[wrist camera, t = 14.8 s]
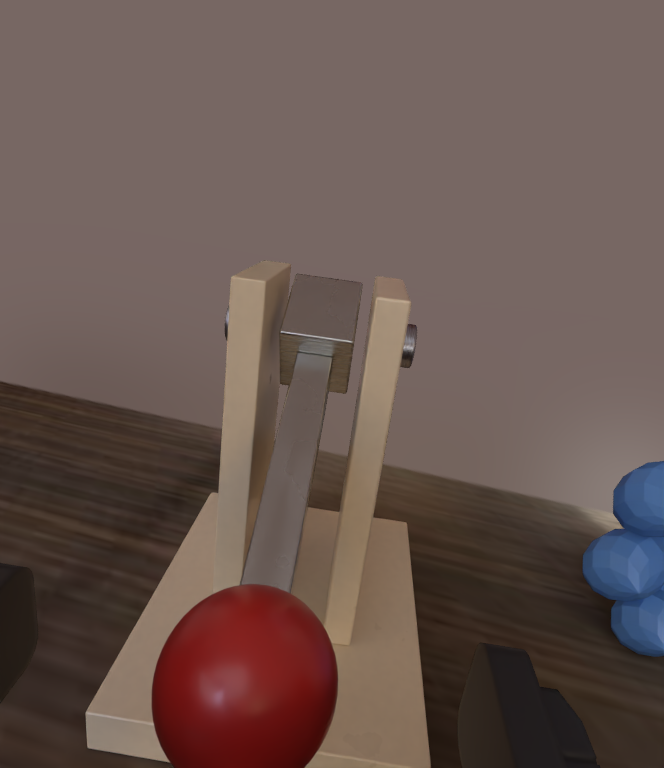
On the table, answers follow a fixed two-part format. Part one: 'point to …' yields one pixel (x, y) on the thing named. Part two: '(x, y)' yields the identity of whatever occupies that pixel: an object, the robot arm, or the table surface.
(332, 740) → the switch bracket
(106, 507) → the table surface
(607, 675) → the table surface
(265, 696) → the power lever
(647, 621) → the grapes
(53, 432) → the table surface
